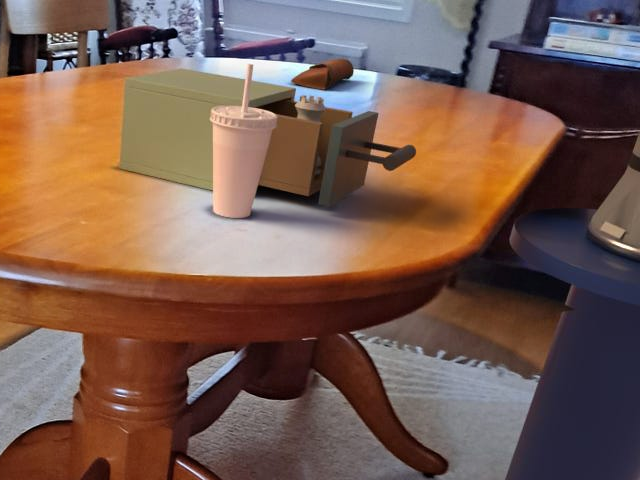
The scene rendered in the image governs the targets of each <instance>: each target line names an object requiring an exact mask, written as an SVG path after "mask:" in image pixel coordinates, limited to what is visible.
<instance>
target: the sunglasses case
mask: <svg viewBox="0 0 640 480" xmlns="http://www.w3.org/2000/svg"><path fill="white" fill-rule="evenodd" d="M354 73H355V72H354V65H353V63H352V62H351V61H350V59H346V58H334V59H329V60H326V61H323V62H320V63H315V64H314V65H310V66H309V68H308V69H306V70H304V71H302V72H300V73H298V74H297V75H295V76H294V77H293V78H291V80H290V82H291V83H293V84H295V85H298V86H302V87H305V88H309V89H315V90H321V91H324V90H327V89H329V88H330V87H333V86H334V85H336V84H338V83H339V82H340V81H342V80H350V79H351V78H352V77H353V76H354Z"/></svg>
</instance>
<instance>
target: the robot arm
mask: <svg viewBox="0 0 640 480" xmlns="http://www.w3.org/2000/svg"><path fill="white" fill-rule="evenodd" d="M628 161H629V162H628V163H627V167H626V170H625V171H624V173H623V175H622V176H621V178H620V179H619V180H618V182H617V183H616V184H615V186H614V187H613V188H612V190H611V191H610V192H609V194H608V195H607V196H606V198H605V199H604V201H603V202H602V203H601V205H600V206H599V207H598V209H596V210H597V211H596V213H595V214H594V216H593V217H592V219H591V220H590V223H589V226H588V229H587V232H586V238H587V239H588V240H589V241H590V242H591V243H592V244H593V245H595V246H596V247H598V248H600V249H602V250H604V251H606V252H608V253H611V254H613V255H616V256H618V257H621V258H624V259H627V260H630V261H633V262H637V263H640V132H638V135H637V139H636V140H635V144H634V147H633V150H632V153H631V156H630V158H629V160H628Z"/></svg>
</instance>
